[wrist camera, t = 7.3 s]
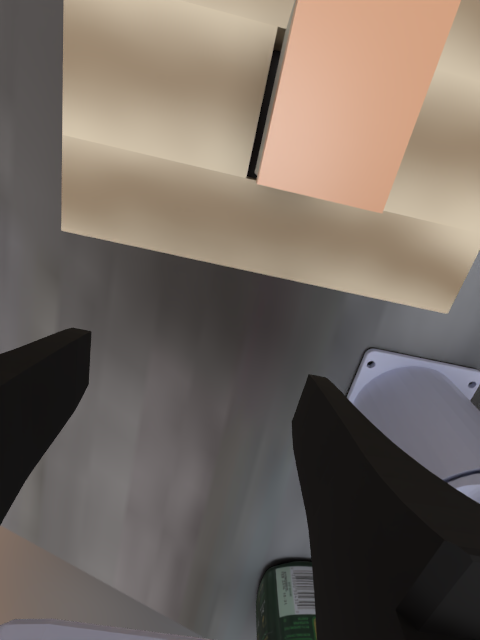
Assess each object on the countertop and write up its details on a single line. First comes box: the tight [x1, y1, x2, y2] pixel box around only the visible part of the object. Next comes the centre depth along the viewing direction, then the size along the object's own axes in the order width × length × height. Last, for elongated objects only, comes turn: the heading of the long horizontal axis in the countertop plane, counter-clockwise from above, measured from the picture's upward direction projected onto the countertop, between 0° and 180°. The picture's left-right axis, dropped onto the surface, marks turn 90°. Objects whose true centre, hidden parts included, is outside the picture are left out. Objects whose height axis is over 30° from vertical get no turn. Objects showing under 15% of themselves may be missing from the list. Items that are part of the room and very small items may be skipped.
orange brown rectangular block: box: [255, 0, 461, 213], centre depth 11 cm, size 5×3×7 cm, turn 168°
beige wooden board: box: [61, 0, 480, 314], centre depth 16 cm, size 14×20×3 cm
